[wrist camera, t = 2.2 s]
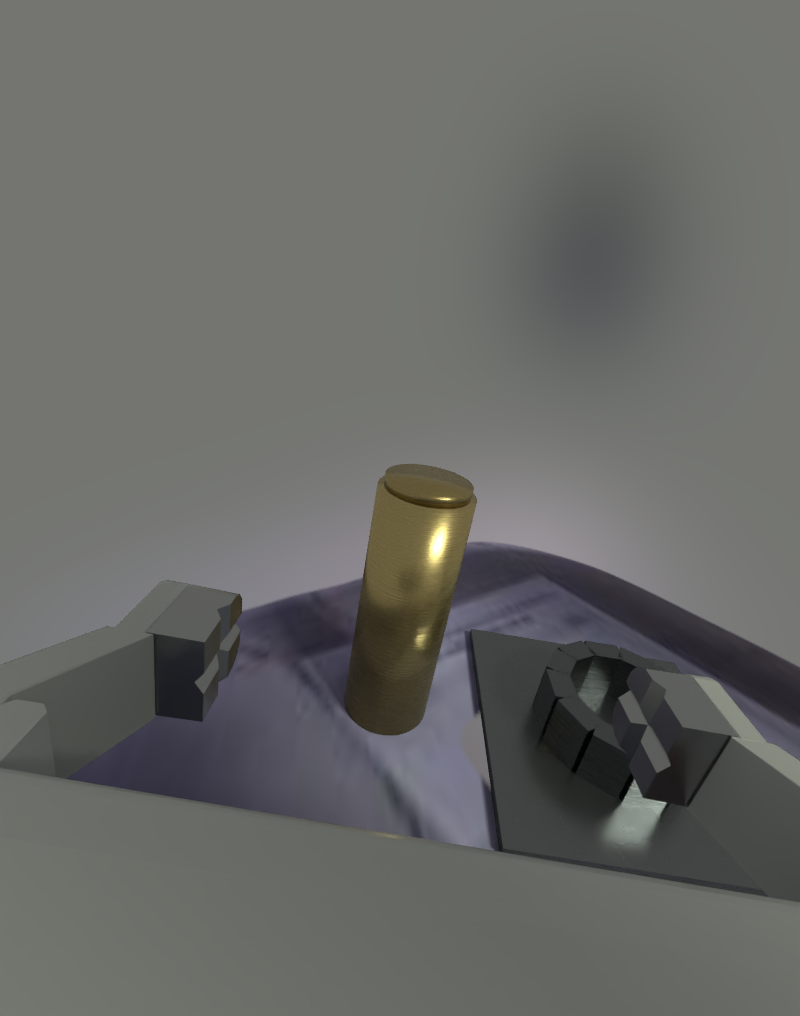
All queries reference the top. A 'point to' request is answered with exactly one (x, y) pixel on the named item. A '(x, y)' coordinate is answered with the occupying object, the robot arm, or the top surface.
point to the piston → (406, 594)
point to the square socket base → (581, 766)
